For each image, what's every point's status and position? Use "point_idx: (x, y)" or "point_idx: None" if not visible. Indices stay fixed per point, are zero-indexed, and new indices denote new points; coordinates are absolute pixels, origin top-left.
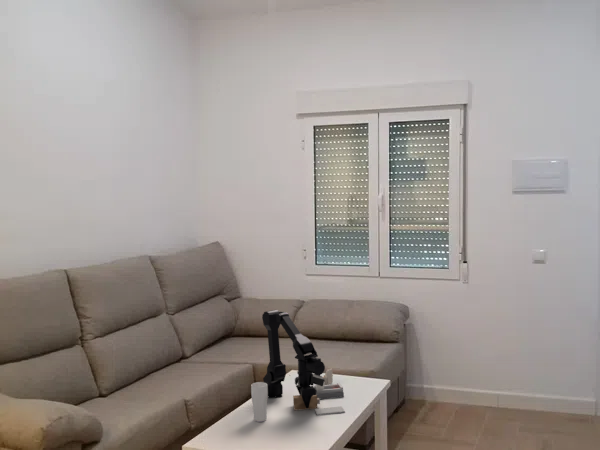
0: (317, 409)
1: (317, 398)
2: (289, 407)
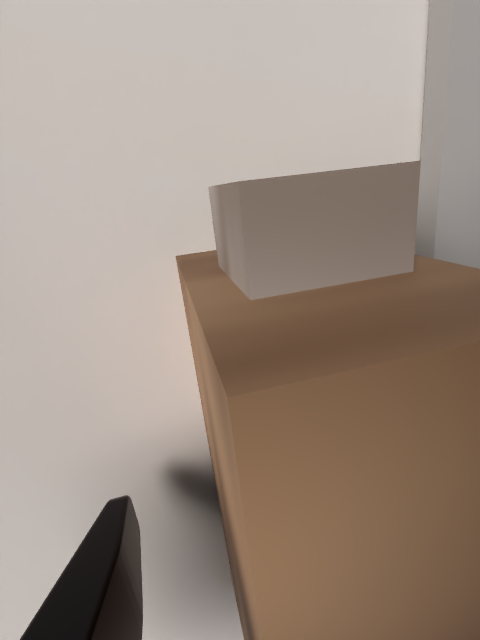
0: (472, 247)
1: (307, 248)
2: (214, 629)
